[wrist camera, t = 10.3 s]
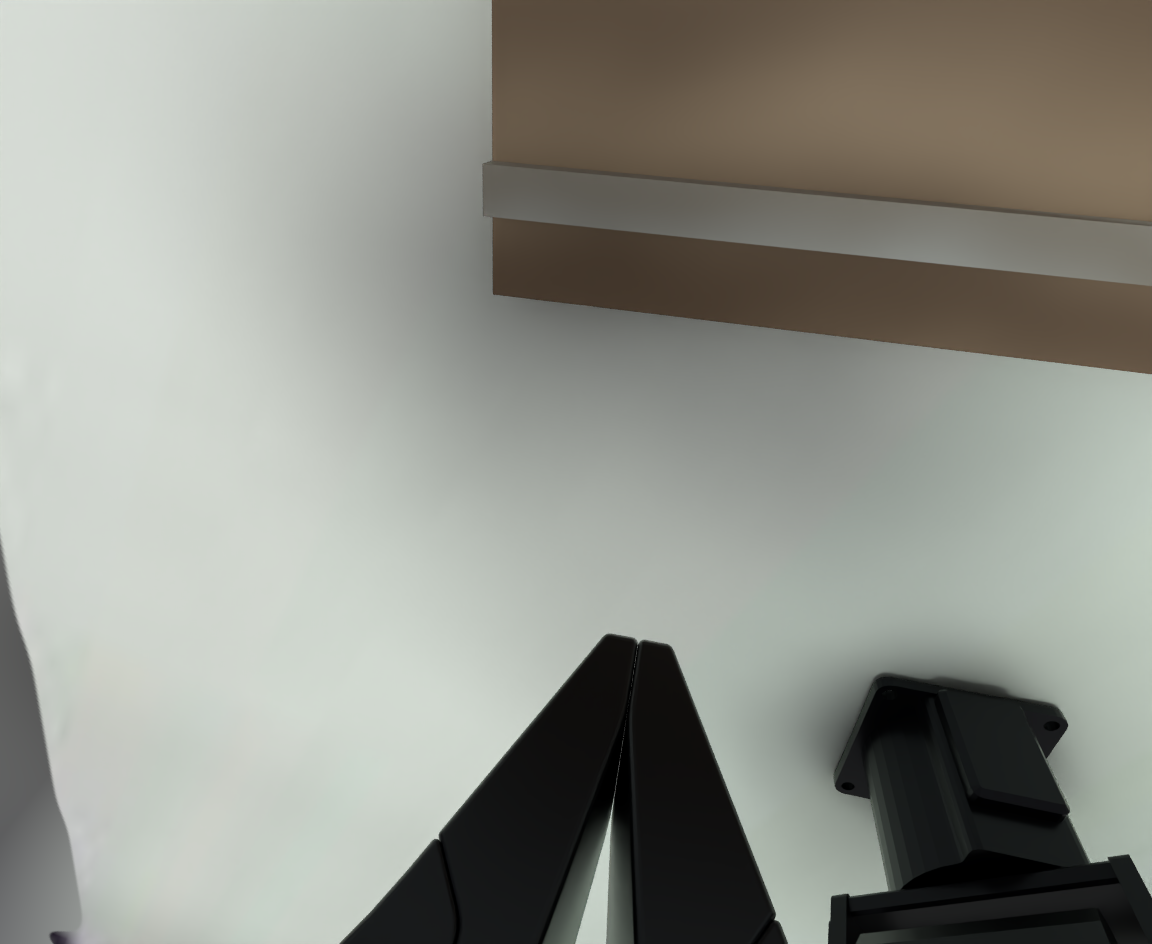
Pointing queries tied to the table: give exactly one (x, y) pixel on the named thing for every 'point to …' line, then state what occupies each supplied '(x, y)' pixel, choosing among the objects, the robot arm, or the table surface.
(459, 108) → the table surface
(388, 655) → the table surface
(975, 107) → the track
